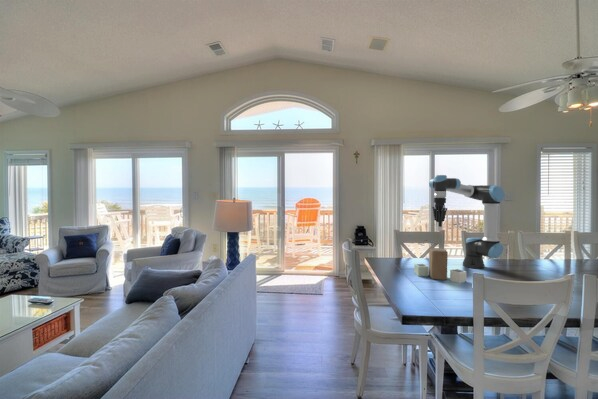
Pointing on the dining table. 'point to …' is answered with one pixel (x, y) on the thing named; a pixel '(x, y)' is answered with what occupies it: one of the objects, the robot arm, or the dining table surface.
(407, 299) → the dining table surface
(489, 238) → the robot arm
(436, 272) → the wooden block
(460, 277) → the cream labelled cube
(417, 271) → the sage labelled cube
